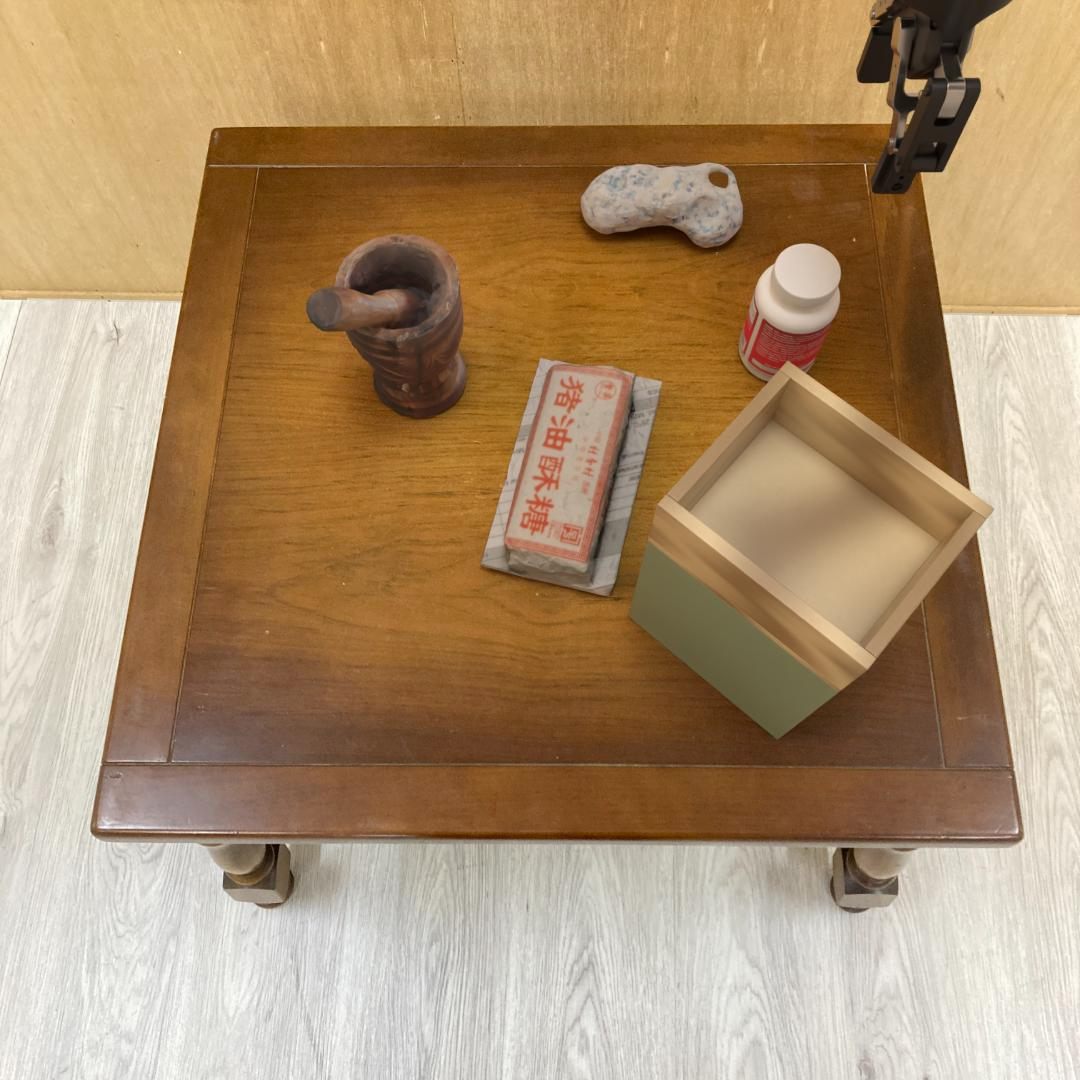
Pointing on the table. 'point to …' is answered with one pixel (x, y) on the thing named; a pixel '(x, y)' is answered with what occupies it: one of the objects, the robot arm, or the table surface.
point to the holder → (816, 525)
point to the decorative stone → (665, 201)
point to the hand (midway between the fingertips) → (879, 132)
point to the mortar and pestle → (400, 320)
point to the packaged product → (573, 476)
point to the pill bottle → (791, 311)
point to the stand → (724, 646)
